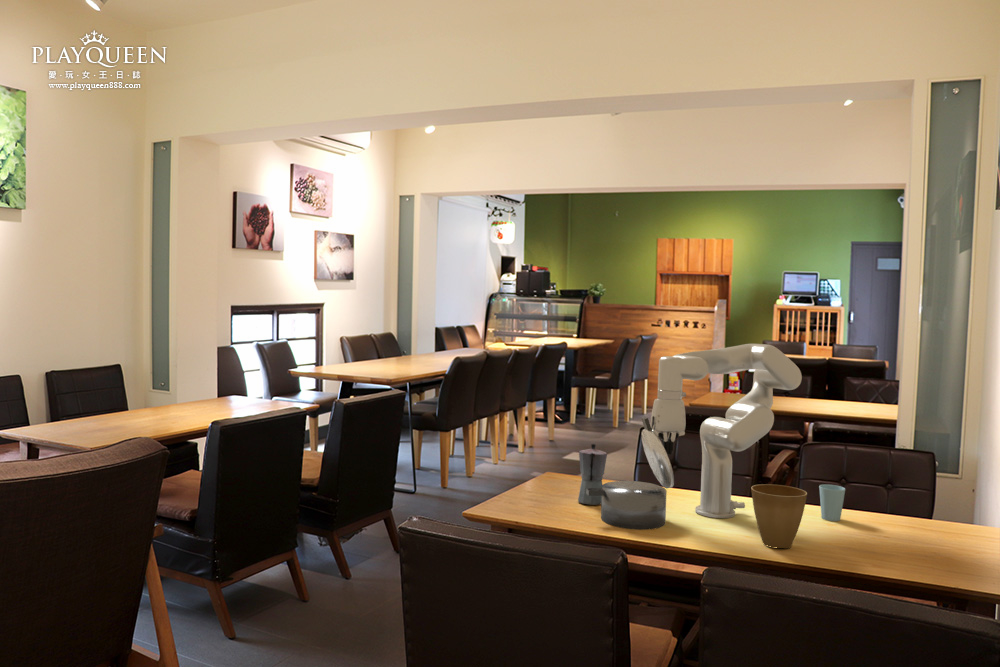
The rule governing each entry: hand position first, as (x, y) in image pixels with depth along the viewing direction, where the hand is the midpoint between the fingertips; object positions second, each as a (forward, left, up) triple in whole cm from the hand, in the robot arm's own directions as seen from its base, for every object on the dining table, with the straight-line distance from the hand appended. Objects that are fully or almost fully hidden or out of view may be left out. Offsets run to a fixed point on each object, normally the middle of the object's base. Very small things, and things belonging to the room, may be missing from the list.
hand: (667, 453), depth 229 cm
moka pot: (+18, -20, -21) cm, 35 cm away
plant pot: (-24, +26, -21) cm, 41 cm away
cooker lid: (+4, 0, 0) cm, 4 cm away
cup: (-56, +2, -21) cm, 60 cm away
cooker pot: (+13, 0, -21) cm, 25 cm away
